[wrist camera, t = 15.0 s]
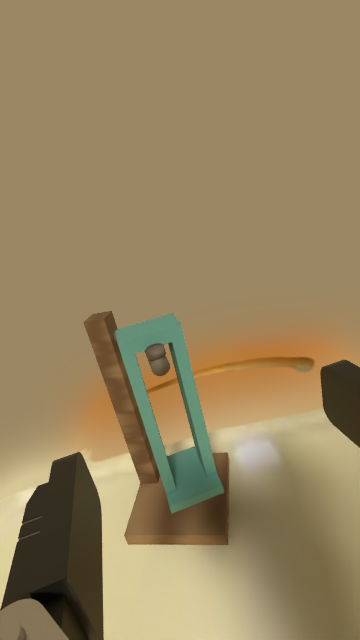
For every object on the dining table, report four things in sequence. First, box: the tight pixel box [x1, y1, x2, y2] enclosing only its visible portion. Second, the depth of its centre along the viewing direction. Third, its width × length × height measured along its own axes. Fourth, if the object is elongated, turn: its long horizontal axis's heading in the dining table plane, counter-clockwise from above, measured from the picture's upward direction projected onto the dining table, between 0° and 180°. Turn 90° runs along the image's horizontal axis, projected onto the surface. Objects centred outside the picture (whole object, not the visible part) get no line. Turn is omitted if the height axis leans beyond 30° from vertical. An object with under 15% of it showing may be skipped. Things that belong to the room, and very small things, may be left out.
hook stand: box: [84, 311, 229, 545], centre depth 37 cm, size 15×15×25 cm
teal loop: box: [115, 314, 224, 513], centre depth 34 cm, size 6×7×20 cm
